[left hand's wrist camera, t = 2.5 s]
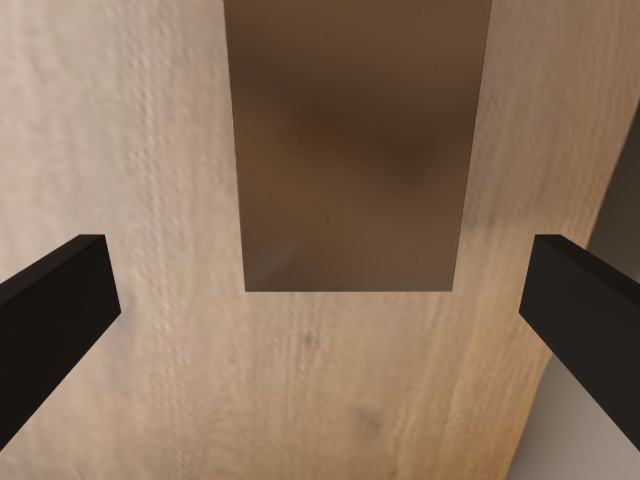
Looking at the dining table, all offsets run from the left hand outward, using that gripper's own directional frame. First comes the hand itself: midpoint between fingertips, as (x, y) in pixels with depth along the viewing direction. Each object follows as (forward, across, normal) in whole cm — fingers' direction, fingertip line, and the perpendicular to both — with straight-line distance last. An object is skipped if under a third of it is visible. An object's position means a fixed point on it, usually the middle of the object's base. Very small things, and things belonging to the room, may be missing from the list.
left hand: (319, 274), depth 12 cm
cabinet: (+16, -2, -5) cm, 17 cm away
